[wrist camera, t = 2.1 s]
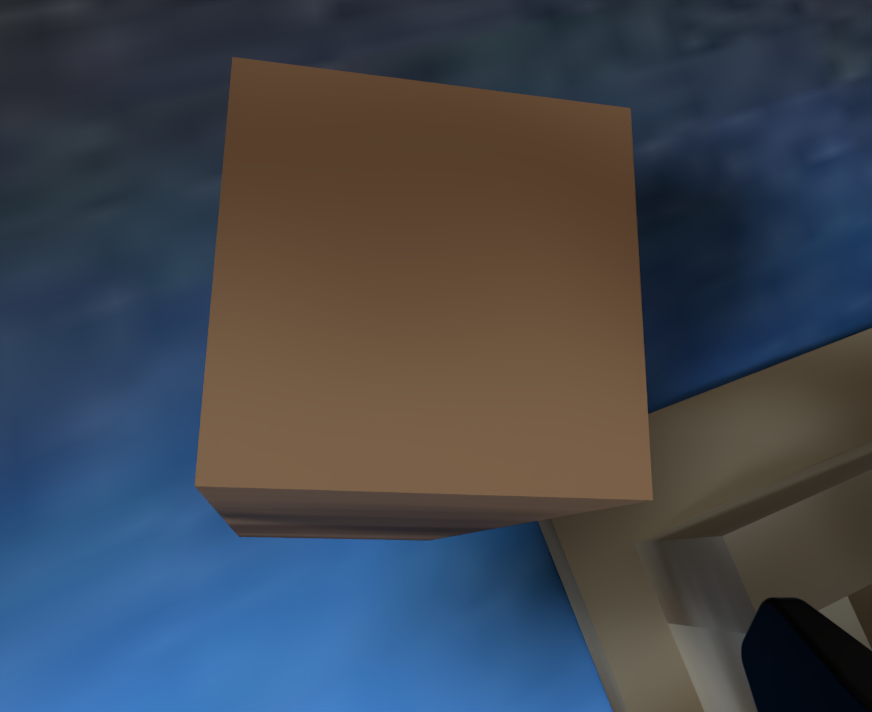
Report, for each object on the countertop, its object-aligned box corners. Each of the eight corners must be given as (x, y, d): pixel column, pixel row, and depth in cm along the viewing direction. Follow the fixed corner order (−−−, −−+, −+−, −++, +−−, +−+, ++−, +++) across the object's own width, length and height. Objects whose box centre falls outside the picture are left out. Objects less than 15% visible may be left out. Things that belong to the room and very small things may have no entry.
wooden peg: (429, 540, 20) (653, 500, 8) (238, 536, 19) (194, 486, 7) (431, 361, 21) (630, 108, 9) (252, 349, 20) (233, 57, 9)
